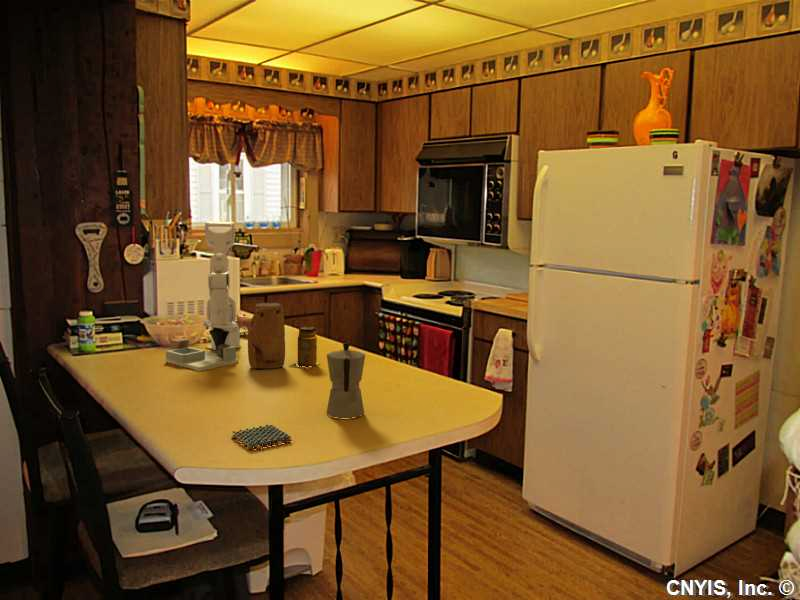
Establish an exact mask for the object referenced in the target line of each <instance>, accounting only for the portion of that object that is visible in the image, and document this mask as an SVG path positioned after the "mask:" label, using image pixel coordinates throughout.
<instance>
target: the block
mask: <svg viewBox="0 0 800 600" xmlns="http://www.w3.org/2000/svg"><path fill="white" fill-rule="evenodd" d="M251 318H252V320H251V323H250V325H249V327H248V330H247V336H248V337H247V354H248V355H247V356H248V359H247V360H248V364H249V366H250V368H251V369H256V370H257V369H264V370H266V369H278V368H281V367H284V365H285V361H286V329H285V328H286V327H285V317H284V308H283V306H282V305H281V304H280V303H277V302H271V303H270V302H269V303H267V302H260V303H256V304H255V306H254V314H253V316H252V317H251Z"/></svg>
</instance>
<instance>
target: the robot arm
mask: <svg viewBox="0 0 800 600" xmlns="http://www.w3.org/2000/svg"><path fill="white" fill-rule="evenodd" d="M235 229H236V227H235V222H234V221H208V220H207V221H206V222H205V223H204V237H205V243H206V245H207V246H208V247H210V248H212V251H213V255H212V256H211V257H210V258H209V259H210V260H209V261H210V262H209V274H208V275H207V286H208V294H209V295H208V296H209V298H208V300H207V301H206V319H205V320H202V327H207V328H210V330H209V334H210V344H211V345H207V346H205V349H209V350H213V351H216V350H217V347H218V346H219V345H220V344H227V345H230V346H235V347H236V349H237V348H242V345H241V344H240V342H241V341H240V339H241V337H240V336H241V335H240V334H241V333H240V331H241V329H240V330H239V326H238V324H237V316H236V315H237V314H236V313H237V307H236V306H237V305H236V300H235V299H234V298H233V297H232V296H230V295H229V289H230V287H231V286H230V285H231V284H230V282H231V277H230V270H229V258H228V251H229V249H230V248H231V247H234V245H235V239H236V234H235V233H236V232H235V231H236V230H235Z"/></svg>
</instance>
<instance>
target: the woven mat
mask: <svg viewBox="0 0 800 600" xmlns="http://www.w3.org/2000/svg"><path fill="white" fill-rule="evenodd" d="M232 433H233V434H232V435H231V439H232V438H236V440H235V439H234V441H235V442H236V441H240V442H242V443H241V444H242V445H241V446H242V447H243V446H244V447H245V446H247V447H246V448H245V450H247V449H250V450H254V448H255V449H261V448H263V447H264V446H265V447H268V446H271V444H272V445H275V444H276V445H278V444H281V443H285V442H286V443H288V441H290V442H291V441H293V440H292V439H293V437H292V436H291V435H289V434H288V433H287V432H285V431H283V430H281V429H279V428H278V427H276V426H275V425H273V424H270V425H269V424H265V426H262V425H259V426H258V427H255V426H253V427H252V428H250V429H249V428H246V429H245V430H242V429H240V430H239V431H235V430H233V431H232ZM274 443H275V444H274ZM262 444H263V445H262ZM288 444H289V443H288ZM258 445H259V446H258ZM267 445H268V446H267ZM253 447H254V448H253ZM261 450H262V449H261Z"/></svg>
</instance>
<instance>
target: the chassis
mask: <svg viewBox="0 0 800 600" xmlns="http://www.w3.org/2000/svg"><path fill="white" fill-rule="evenodd" d="M165 362H166V363H167V362H168V363H167V364H171V363H172V365H174V364H176V365H175V366H178V365H179V367H182V366H183V367H182V368H185V367H186V369H189V368H190V369H191V370H193V369H194V370H193V371H198V372H201V371H202V370H203V371H207V370H211V369H210V368H212V369H215V368H221V367H225V366H229V365H233V364H234V365H235V364H238V363H239V358H237V348H236V347H235V346H231V347H226V348H223V358H219V357H218V356H217V354H216V352H215V353H214V352H212V351H211V352H210V351H206V350H204V349H200V348H196V347H190V346H189V347H185V348H179V349H174V350H170V349H169V350H165ZM220 366H221V367H220ZM190 369H189V370H190ZM206 369H207V370H206ZM203 371H202V372H203Z"/></svg>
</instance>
